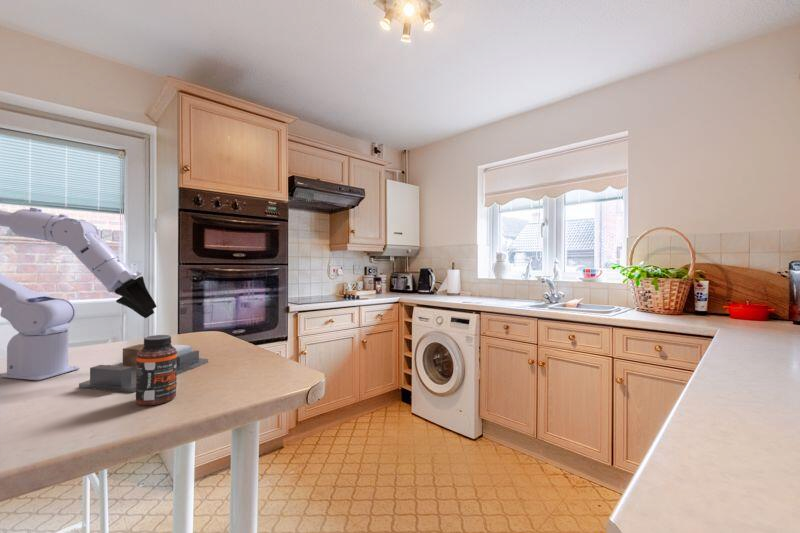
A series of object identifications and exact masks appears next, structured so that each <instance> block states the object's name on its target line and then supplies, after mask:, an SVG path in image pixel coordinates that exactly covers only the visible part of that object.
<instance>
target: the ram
mask: <svg viewBox="0 0 800 533" xmlns="http://www.w3.org/2000/svg"><path fill="white" fill-rule="evenodd" d="M171 345H172V346H173V347H174V348H176V350H177V357H178V356H181V355H184V354H187V353H189V352H192V351H193V346H190V345H188V344H187V345H186V344H171Z"/></svg>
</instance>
